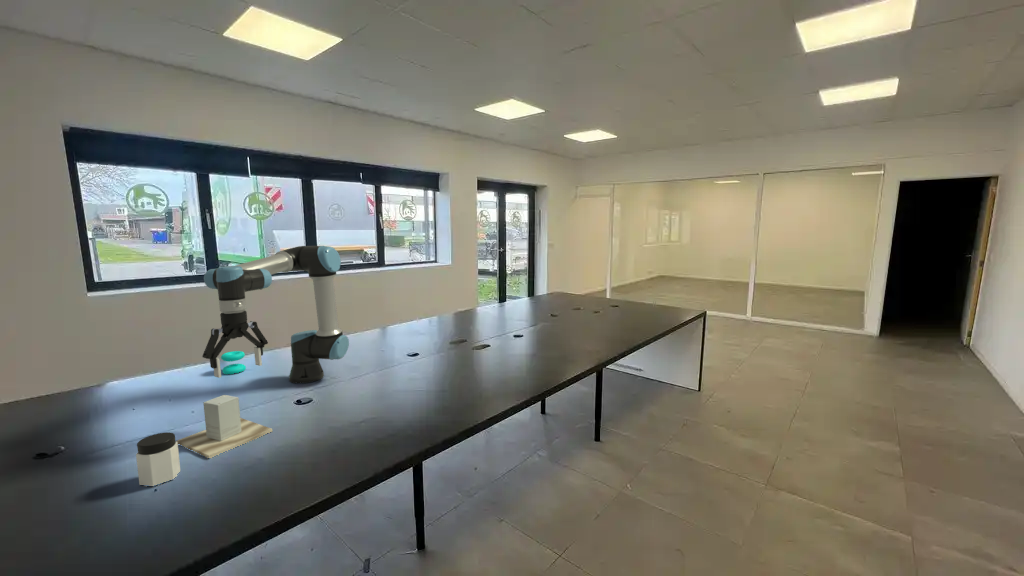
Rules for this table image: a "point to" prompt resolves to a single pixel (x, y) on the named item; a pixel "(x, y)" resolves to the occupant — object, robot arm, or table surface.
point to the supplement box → (222, 417)
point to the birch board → (216, 447)
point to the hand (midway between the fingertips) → (239, 370)
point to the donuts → (233, 357)
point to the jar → (157, 459)
